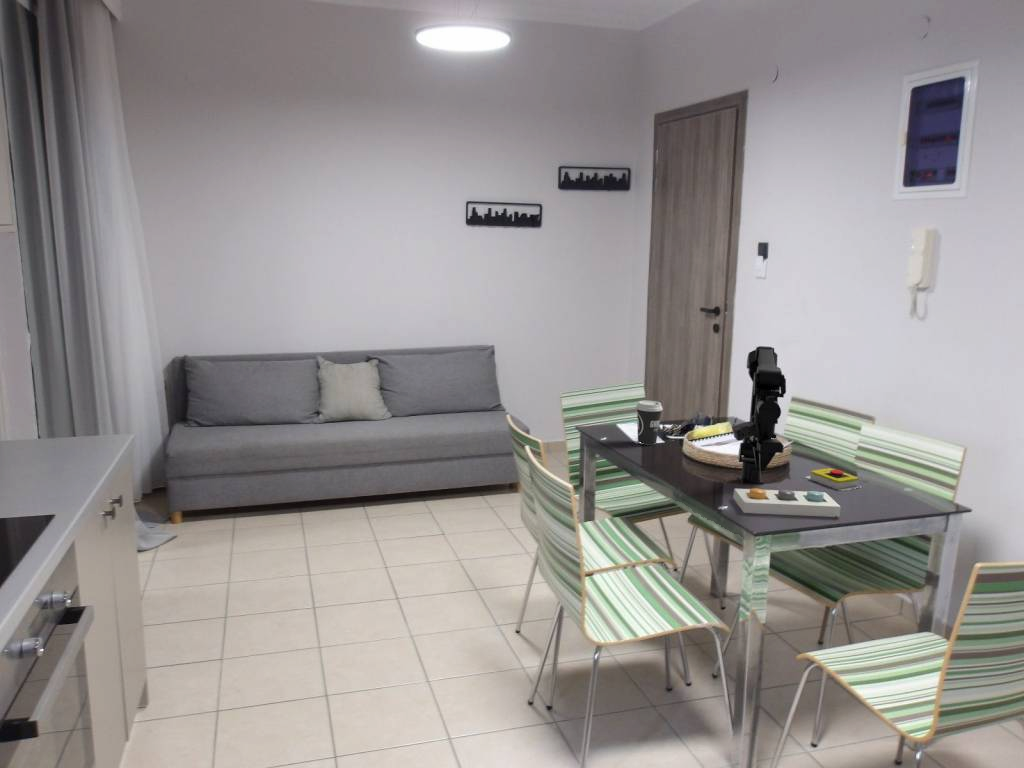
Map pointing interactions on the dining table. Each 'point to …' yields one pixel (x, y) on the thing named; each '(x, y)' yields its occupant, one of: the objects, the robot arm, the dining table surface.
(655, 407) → the coffee cup
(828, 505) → the button panel
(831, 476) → the emergency button
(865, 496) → the dining table surface
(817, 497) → the teal button
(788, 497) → the charcoal button
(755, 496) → the orange button
